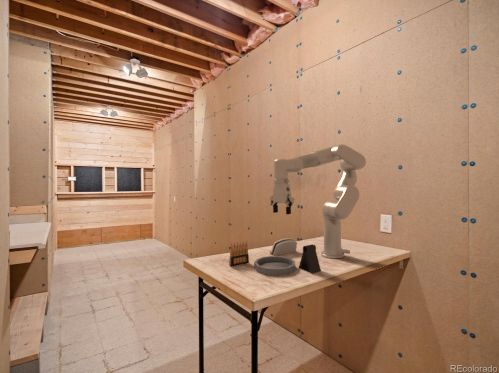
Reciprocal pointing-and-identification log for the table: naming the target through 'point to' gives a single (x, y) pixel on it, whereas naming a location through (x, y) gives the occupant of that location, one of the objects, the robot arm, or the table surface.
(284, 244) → the white electronic device
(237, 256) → the ammunition clip
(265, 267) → the round tray
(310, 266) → the phone stand
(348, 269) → the table surface
